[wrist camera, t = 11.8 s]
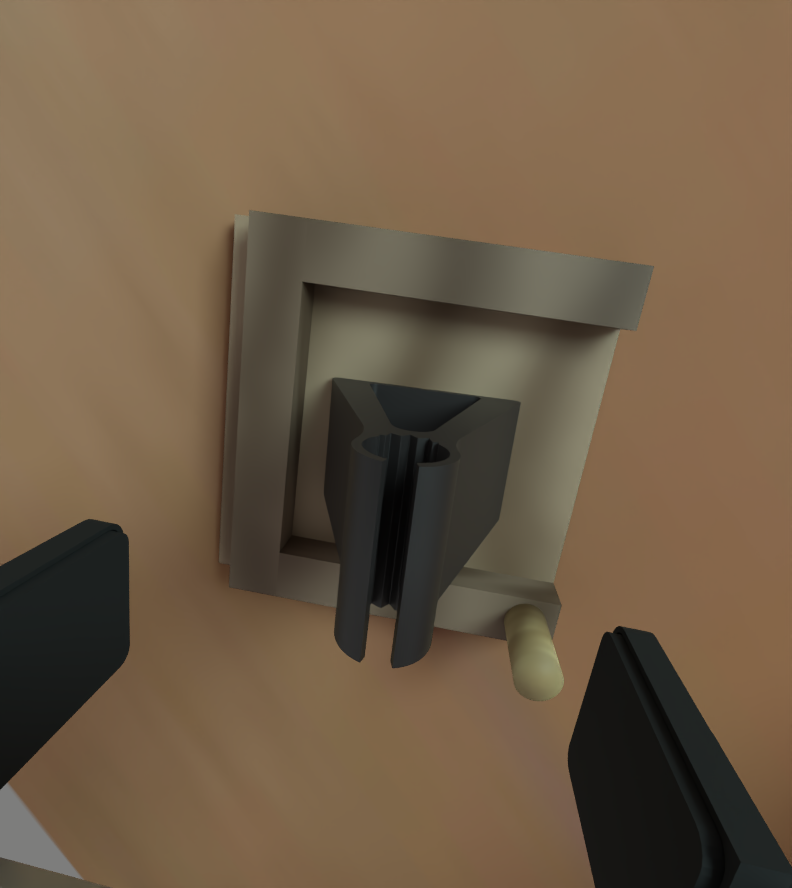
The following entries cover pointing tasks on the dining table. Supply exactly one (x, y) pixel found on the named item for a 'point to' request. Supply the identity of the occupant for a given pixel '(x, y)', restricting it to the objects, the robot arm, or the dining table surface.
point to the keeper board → (422, 366)
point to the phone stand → (409, 500)
